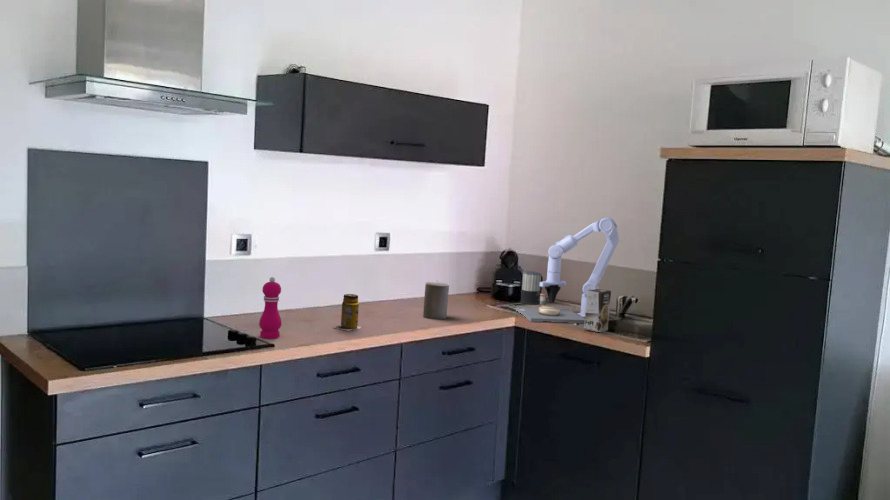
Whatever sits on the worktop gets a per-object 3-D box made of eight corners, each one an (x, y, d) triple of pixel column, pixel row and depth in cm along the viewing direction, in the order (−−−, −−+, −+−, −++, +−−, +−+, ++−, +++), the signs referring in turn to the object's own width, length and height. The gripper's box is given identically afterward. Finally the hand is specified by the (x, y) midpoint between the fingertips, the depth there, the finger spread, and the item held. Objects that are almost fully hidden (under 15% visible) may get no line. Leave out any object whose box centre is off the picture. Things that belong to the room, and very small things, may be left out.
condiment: (362, 327, 264) (364, 295, 263) (348, 331, 257) (350, 297, 256) (346, 324, 268) (347, 292, 267) (332, 328, 260) (333, 295, 259)
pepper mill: (254, 337, 238) (256, 277, 236) (267, 333, 245) (269, 274, 243) (272, 340, 236) (275, 279, 234) (285, 336, 243) (287, 277, 241)
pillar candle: (423, 318, 289) (426, 281, 287) (422, 313, 298) (425, 277, 297) (447, 320, 289) (450, 283, 288) (446, 315, 299) (448, 279, 298)
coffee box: (598, 333, 282) (601, 292, 280) (583, 330, 286) (586, 290, 284) (608, 330, 289) (611, 290, 288) (593, 327, 293) (596, 288, 291)
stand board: (567, 312, 324) (568, 308, 324) (586, 323, 300) (587, 319, 300) (515, 310, 320) (516, 307, 320) (530, 321, 296) (531, 317, 296)
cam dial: (562, 315, 305) (563, 300, 305) (541, 315, 304) (543, 299, 303) (551, 308, 321) (552, 293, 320) (531, 307, 319) (532, 293, 319)
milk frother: (538, 305, 338) (540, 274, 337) (504, 301, 343) (507, 270, 341) (542, 301, 352) (545, 270, 350) (510, 297, 356) (513, 267, 355)
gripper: (558, 270, 329) (556, 299, 330) (535, 270, 320) (533, 301, 321) (570, 272, 323) (567, 302, 324) (547, 273, 314) (544, 304, 316)
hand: (551, 302), depth 323 cm, fingers closed
